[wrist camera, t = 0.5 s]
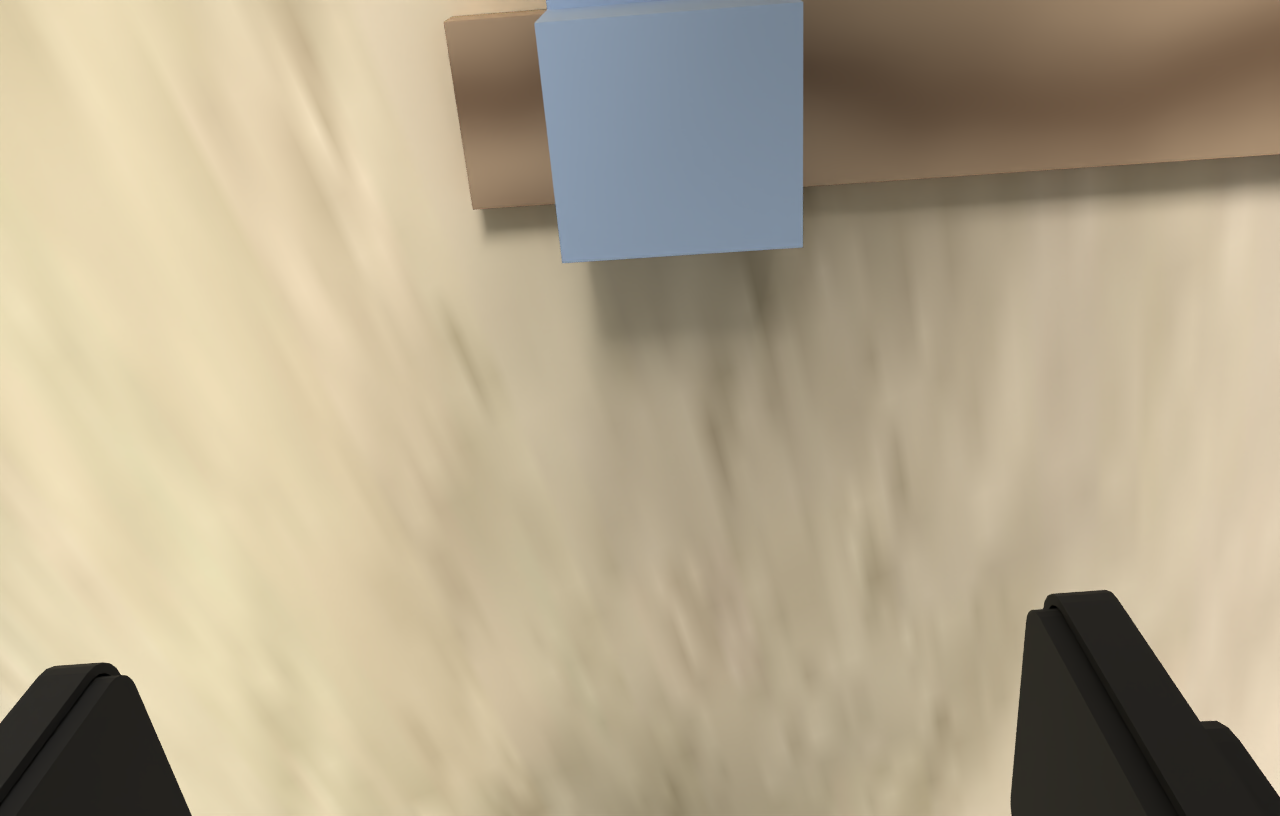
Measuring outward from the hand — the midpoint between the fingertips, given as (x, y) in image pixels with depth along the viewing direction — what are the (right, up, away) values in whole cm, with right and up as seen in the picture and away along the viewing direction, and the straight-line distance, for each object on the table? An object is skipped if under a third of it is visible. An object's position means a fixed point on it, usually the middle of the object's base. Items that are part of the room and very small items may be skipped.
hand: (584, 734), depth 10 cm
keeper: (+2, +14, +23) cm, 27 cm away
